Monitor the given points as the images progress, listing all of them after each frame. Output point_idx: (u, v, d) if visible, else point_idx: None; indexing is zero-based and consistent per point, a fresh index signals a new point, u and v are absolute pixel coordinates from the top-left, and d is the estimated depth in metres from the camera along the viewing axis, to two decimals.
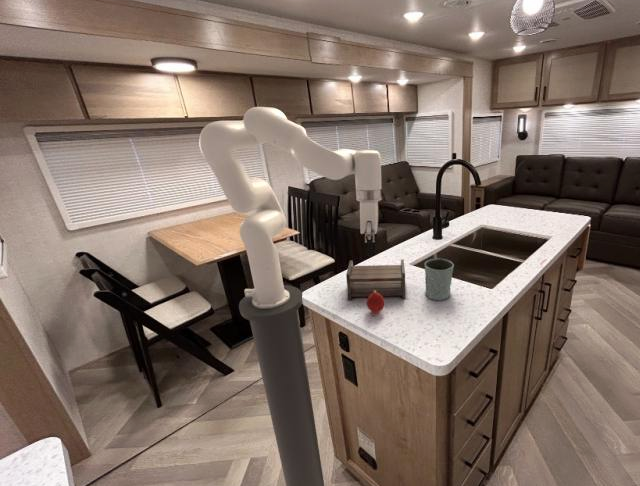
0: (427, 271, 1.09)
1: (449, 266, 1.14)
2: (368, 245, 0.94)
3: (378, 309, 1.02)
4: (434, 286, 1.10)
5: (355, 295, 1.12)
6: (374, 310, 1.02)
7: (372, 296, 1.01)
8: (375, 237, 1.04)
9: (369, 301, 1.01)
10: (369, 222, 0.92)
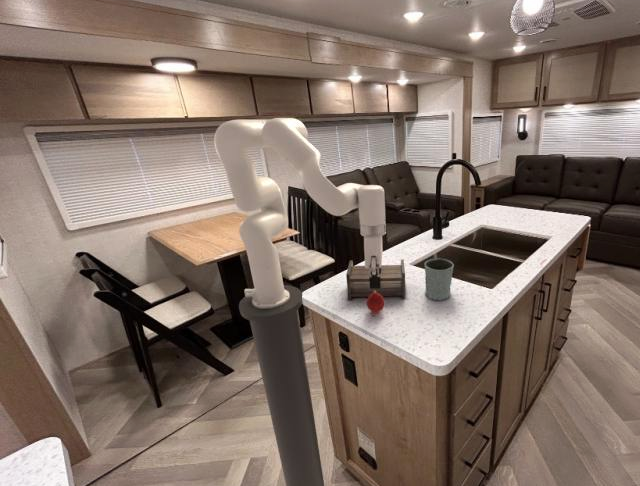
0: (427, 271, 1.09)
1: (449, 266, 1.14)
2: (373, 280, 0.94)
3: (378, 309, 1.02)
4: (434, 286, 1.10)
5: (355, 295, 1.12)
6: (374, 310, 1.02)
7: (372, 296, 1.01)
8: (379, 268, 1.04)
9: (369, 301, 1.01)
10: (374, 257, 0.92)
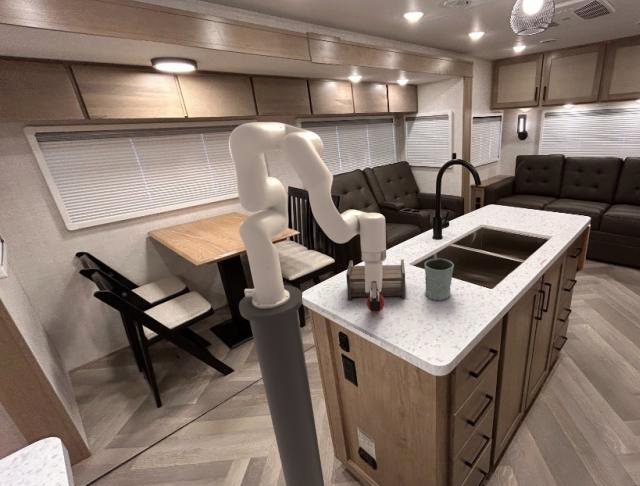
0: (427, 271, 1.09)
1: (449, 266, 1.14)
2: (373, 304, 0.99)
3: None
4: (434, 286, 1.10)
5: (355, 295, 1.12)
6: None
7: None
8: None
9: (369, 301, 1.01)
10: (374, 284, 0.95)
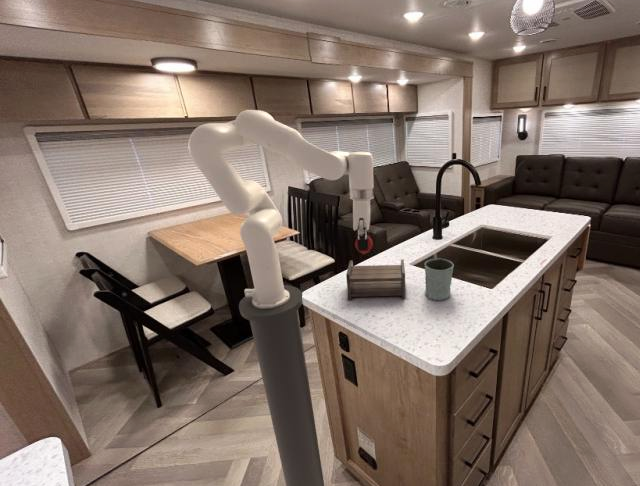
0: (427, 271, 1.09)
1: (449, 266, 1.14)
2: (361, 242, 1.02)
3: None
4: (434, 286, 1.10)
5: (355, 295, 1.12)
6: None
7: None
8: None
9: (357, 241, 1.05)
10: (361, 221, 0.99)
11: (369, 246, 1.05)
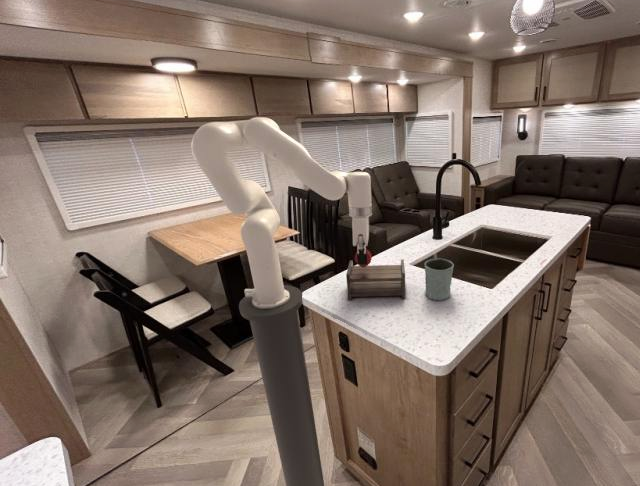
0: (427, 271, 1.09)
1: (449, 266, 1.14)
2: (360, 257, 1.08)
3: None
4: (434, 286, 1.10)
5: (355, 295, 1.12)
6: None
7: None
8: None
9: None
10: (360, 237, 1.04)
11: (368, 260, 1.11)
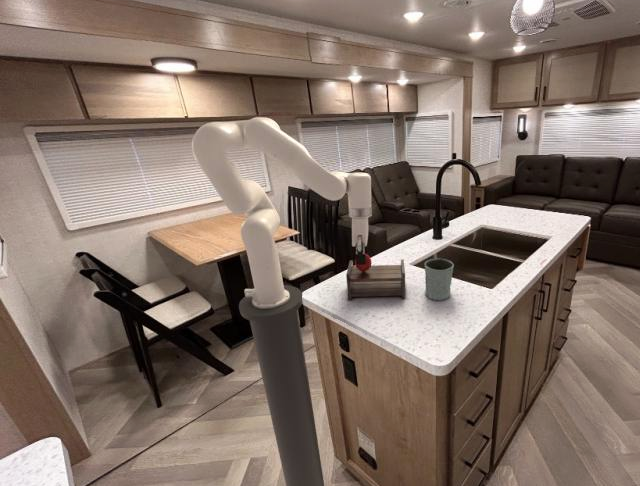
0: (427, 271, 1.09)
1: (449, 266, 1.14)
2: (359, 257, 1.06)
3: (365, 268, 1.11)
4: (434, 286, 1.10)
5: (355, 295, 1.12)
6: (362, 268, 1.11)
7: None
8: (366, 248, 1.16)
9: None
10: (360, 236, 1.04)
11: (368, 265, 1.11)
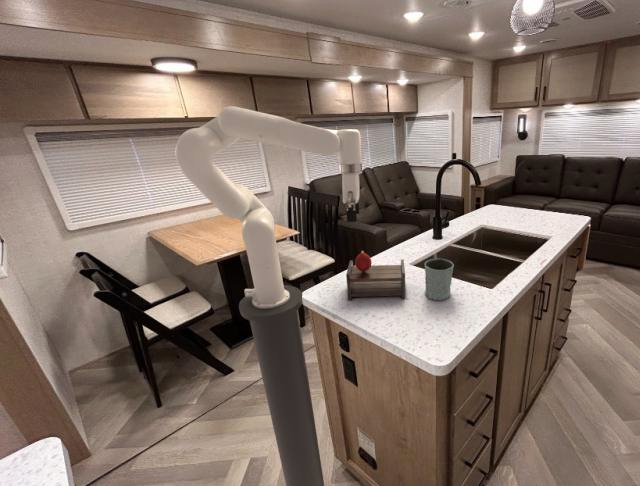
0: (427, 271, 1.09)
1: (449, 266, 1.14)
2: (349, 213, 1.08)
3: (365, 268, 1.11)
4: (434, 286, 1.10)
5: (355, 295, 1.12)
6: (362, 268, 1.11)
7: (360, 256, 1.11)
8: (358, 209, 1.18)
9: (357, 260, 1.11)
10: (350, 192, 1.06)
11: (368, 265, 1.11)
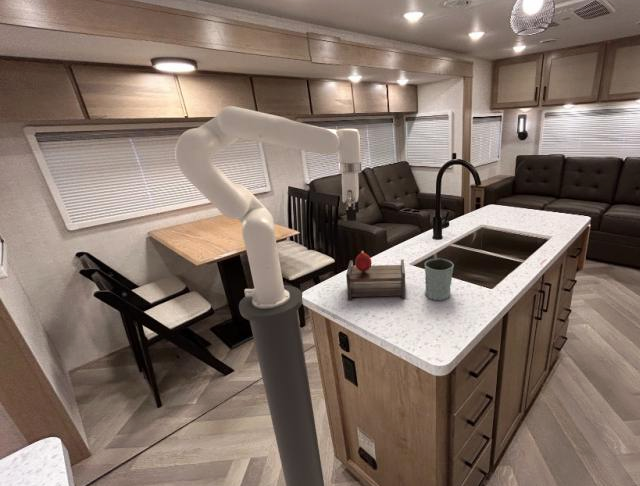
0: (427, 271, 1.09)
1: (449, 266, 1.14)
2: (349, 212, 1.08)
3: (365, 268, 1.11)
4: (434, 286, 1.10)
5: (355, 295, 1.12)
6: (362, 268, 1.11)
7: (360, 256, 1.11)
8: (357, 208, 1.18)
9: (357, 260, 1.11)
10: (350, 191, 1.06)
11: (368, 265, 1.11)
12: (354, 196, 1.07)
